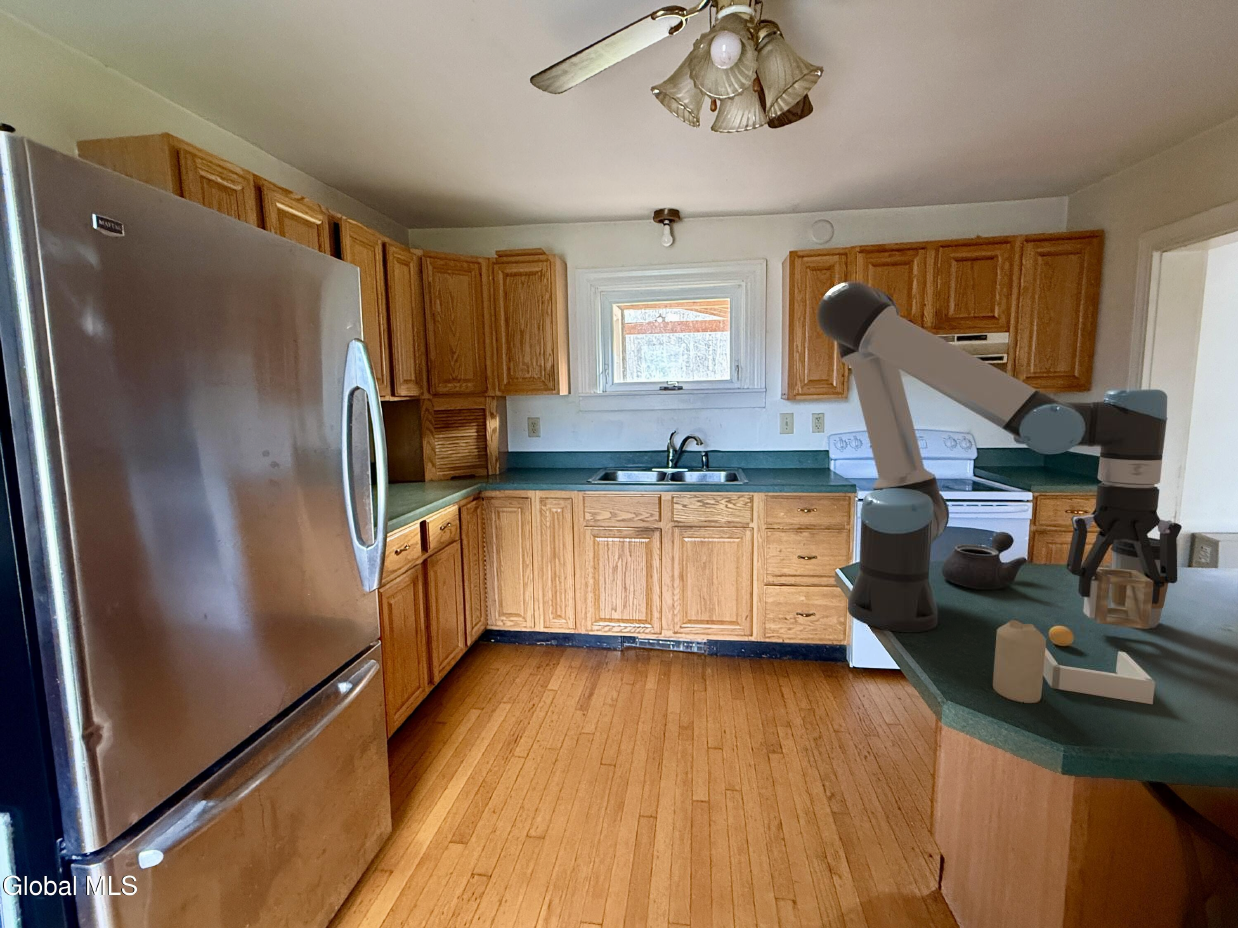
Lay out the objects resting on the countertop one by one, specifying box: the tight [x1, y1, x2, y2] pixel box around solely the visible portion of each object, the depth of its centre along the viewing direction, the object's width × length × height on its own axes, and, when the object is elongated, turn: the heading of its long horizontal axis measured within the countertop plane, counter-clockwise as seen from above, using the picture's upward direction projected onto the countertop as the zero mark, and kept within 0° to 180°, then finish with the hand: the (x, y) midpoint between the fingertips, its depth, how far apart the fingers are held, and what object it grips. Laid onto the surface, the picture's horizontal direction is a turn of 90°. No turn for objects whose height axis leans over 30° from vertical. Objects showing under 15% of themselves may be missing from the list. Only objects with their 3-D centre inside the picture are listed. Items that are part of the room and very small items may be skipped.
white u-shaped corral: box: [1043, 648, 1156, 705], centre depth 79 cm, size 11×9×3 cm
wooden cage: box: [1093, 566, 1153, 630], centre depth 92 cm, size 6×6×8 cm
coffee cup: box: [1110, 536, 1169, 629], centre depth 98 cm, size 8×8×15 cm
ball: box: [1048, 625, 1075, 647], centre depth 90 cm, size 3×3×3 cm
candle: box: [992, 619, 1047, 704], centre depth 76 cm, size 6×6×10 cm
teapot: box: [941, 531, 1029, 590], centre depth 120 cm, size 19×15×10 cm
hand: (1115, 617), depth 93 cm, fingers closed on wooden cage, 6 cm apart
